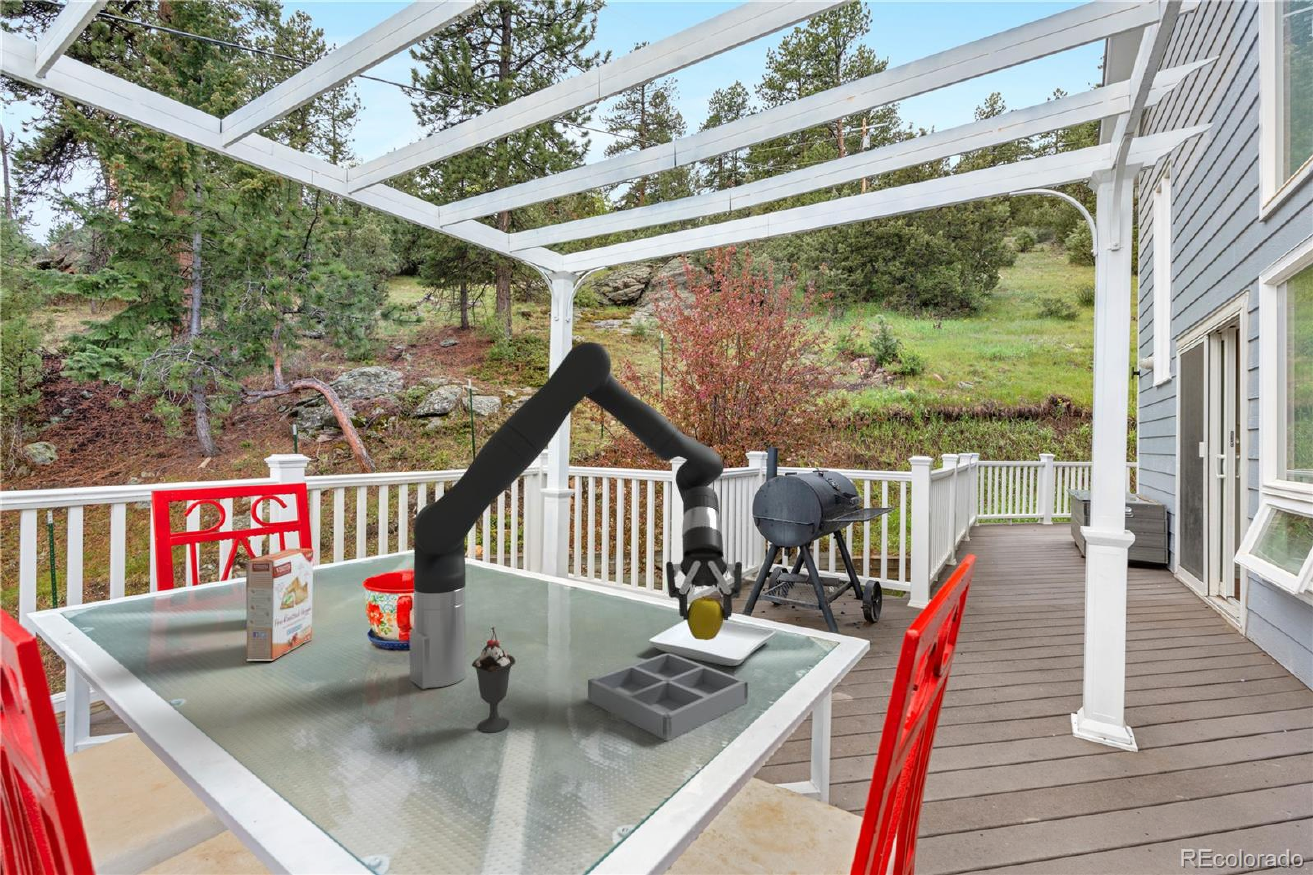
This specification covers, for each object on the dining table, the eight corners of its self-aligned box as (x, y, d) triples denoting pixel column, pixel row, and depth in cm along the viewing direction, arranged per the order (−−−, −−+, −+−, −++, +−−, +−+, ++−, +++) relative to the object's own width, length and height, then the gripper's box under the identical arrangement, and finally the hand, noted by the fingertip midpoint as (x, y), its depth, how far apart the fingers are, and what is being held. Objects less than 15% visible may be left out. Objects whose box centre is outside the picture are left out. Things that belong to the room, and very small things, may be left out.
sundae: (498, 712, 101) (498, 621, 101) (523, 724, 97) (523, 629, 97) (463, 726, 96) (463, 631, 96) (488, 740, 92) (488, 640, 92)
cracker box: (274, 663, 123) (274, 560, 123) (245, 663, 123) (244, 559, 123) (314, 640, 137) (314, 547, 137) (288, 640, 137) (288, 547, 137)
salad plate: (777, 643, 136) (777, 628, 136) (740, 676, 117) (740, 658, 117) (692, 629, 146) (692, 614, 146) (646, 656, 128) (646, 640, 128)
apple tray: (667, 741, 91) (667, 717, 91) (588, 700, 105) (587, 680, 105) (747, 702, 105) (747, 681, 105) (667, 670, 119) (667, 652, 119)
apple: (694, 648, 101) (694, 600, 101) (681, 635, 107) (681, 590, 107) (729, 644, 103) (729, 597, 103) (715, 632, 109) (715, 587, 109)
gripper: (664, 524, 113) (663, 606, 101) (742, 524, 112) (750, 607, 101) (664, 547, 118) (663, 628, 106) (738, 548, 118) (746, 628, 106)
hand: (706, 617), depth 103 cm, fingers closed on apple, 6 cm apart
